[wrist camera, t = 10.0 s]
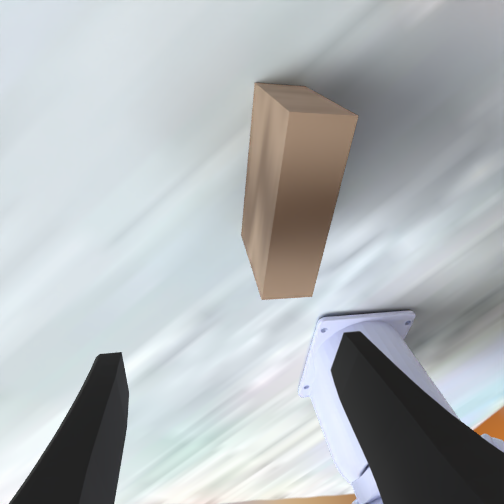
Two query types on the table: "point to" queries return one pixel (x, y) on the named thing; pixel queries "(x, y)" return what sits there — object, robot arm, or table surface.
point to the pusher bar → (292, 185)
